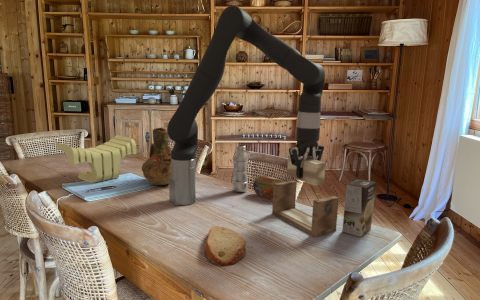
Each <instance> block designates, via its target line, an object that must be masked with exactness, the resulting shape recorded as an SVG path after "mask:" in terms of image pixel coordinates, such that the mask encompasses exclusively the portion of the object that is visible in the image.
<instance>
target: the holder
mask: <svg viewBox="0 0 480 300" xmlns="http://www.w3.org/2000/svg"><path fill="white" fill-rule="evenodd" d="M297 182H298V181H296V180H289V181H288V180H287V181H284V182H281V183H275V184H274V185H273V199H272V208H271V209H272V212H271V214H272V215H274V216H276V217H278V218H279V219H281V220H284V221H285V222H287V223H289V224H291V225H293V226H295V227H296V228H298V229H300V230H302V231H304V232H305V233H308V234H310V235H311V236H312V237H320V236H323V235H326V234H330V233H334V232H336V231H337V225H338V224H337V222H338V212H339V211H338V209H339V201H340V200H339V196H335V195H332V196H328V197H324V198H319V199H314V200H313V202H312V215H311V214H309V213H306V212H305V211H303V210H300V209H298V208H296V201H297V200H296V198H297Z"/></svg>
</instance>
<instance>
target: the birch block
mask: <svg viewBox="0 0 480 300" xmlns="http://www.w3.org/2000/svg"><path fill="white" fill-rule="evenodd" d="M301 158H303V157H302V156H301ZM300 163H301V160H300ZM326 165H327V164H326V162H324V161H321V160H320V161H318V160H315V159H313V158H309V157H307V159H306V160H305V161H304V166H303V178H301V179H300V178H297V176H296V168H297V167H296V166H295V165H292V163H291V158H290V154H288V155H287V167H286V168H287V169H286V170H287V172H286V173H287V174H286V175H287V176H289V177H291V178H295V179H297V180H299V181H302V182H303V183H307V184H309V185H312V186H314V187H315V186H321V185H325V174H326Z"/></svg>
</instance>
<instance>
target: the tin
mask: <svg viewBox="0 0 480 300" xmlns="http://www.w3.org/2000/svg"><path fill="white" fill-rule="evenodd" d="M253 181H254V182H253V190H254V192H255V194H256V195H257V196H259V197H261V198H265V199H269V200H270V199H271V200H273V185H274V184H275V183H281V182H285V181H284V180H283V179H281V178H277V177H271V176H263V175H262V176H258V177H256V178H255V179H254V180H253Z"/></svg>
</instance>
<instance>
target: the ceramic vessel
mask: <svg viewBox="0 0 480 300" xmlns="http://www.w3.org/2000/svg"><path fill="white" fill-rule="evenodd" d="M152 141H153V142H152V143H151V144H150V151H149V158H148V159H146V160H145V161H144V162H143V163H142V165H141V171H142V172H143V173H142V174H143V176H144V179H146V180H147V181H148V182H149V183H151V184H152V185H156V186H165V185H169V177H171V151H172V148H171V146H170V145H169V136H168V133H167V128H164V127H157V128H156V127H155V128H153V129H152Z"/></svg>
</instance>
